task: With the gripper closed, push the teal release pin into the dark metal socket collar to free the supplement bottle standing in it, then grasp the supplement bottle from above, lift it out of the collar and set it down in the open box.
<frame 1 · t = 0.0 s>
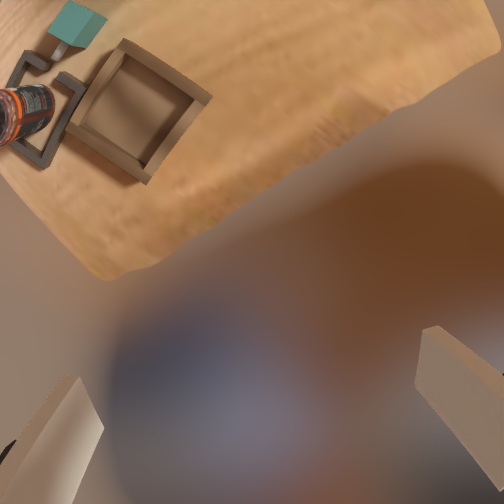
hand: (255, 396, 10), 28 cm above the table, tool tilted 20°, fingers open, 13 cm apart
socket collar: (37, 107, 26), on the table
release pin: (70, 34, 21), point 2 cm above the table, slide at 0.0 cm
open box: (139, 109, 29), on the table
supplement bottle: (38, 107, 27), resting in socket collar
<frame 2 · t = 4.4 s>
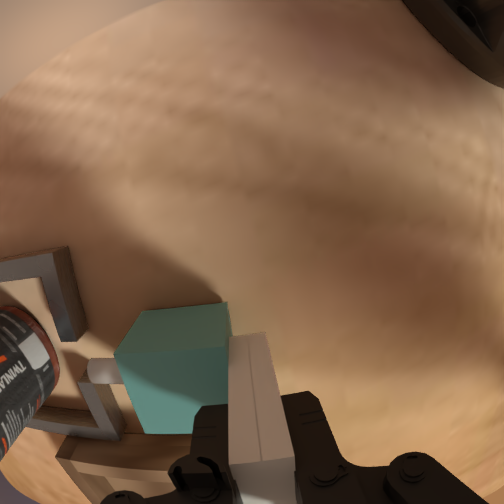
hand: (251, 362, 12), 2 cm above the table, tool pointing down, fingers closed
socket collar: (24, 348, 14), on the table
release pin: (158, 369, 12), point 2 cm above the table, slide at 0.2 cm, touching gripper
open box: (171, 484, 17), on the table
supplement bottle: (26, 346, 14), resting in socket collar
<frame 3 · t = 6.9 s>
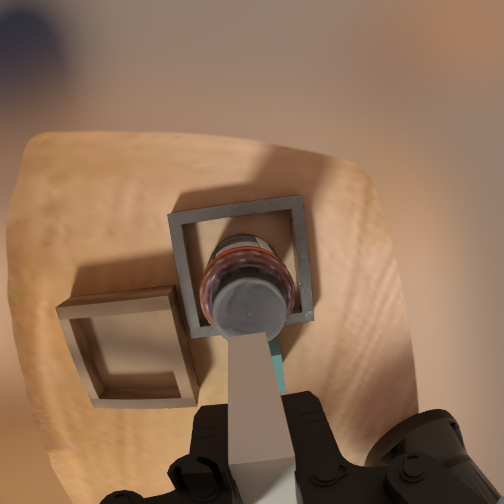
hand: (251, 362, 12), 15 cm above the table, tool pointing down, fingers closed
socket collar: (243, 266, 27), on the table
release pin: (256, 354, 26), point 2 cm above the table, slide at 2.2 cm
open box: (132, 346, 28), on the table
supplement bottle: (243, 265, 27), resting in socket collar
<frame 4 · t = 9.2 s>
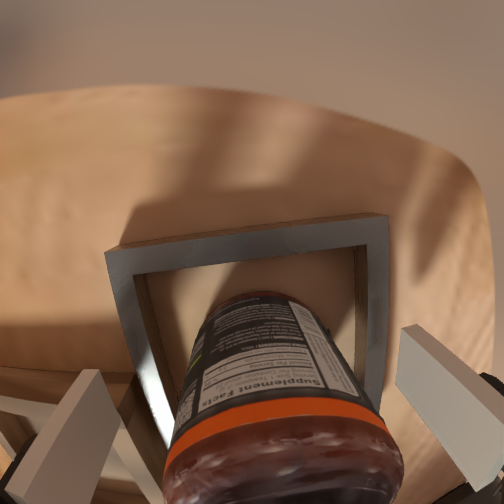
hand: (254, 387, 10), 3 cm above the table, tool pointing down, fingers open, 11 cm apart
socket collar: (261, 347, 14), on the table
open box: (85, 442, 15), on the table
supplement bottle: (260, 345, 14), resting in socket collar
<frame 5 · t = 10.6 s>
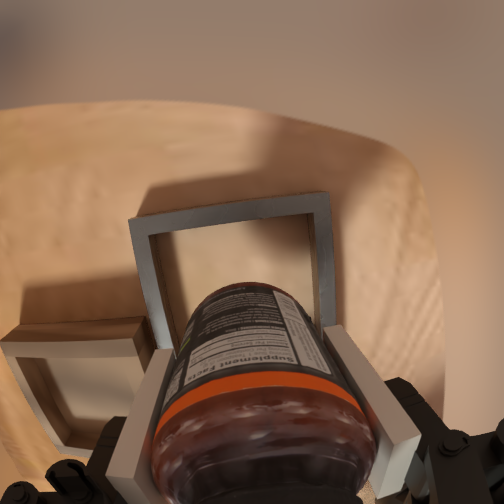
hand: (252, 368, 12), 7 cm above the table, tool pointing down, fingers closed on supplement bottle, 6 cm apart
socket collar: (240, 292, 19), on the table
open box: (98, 387, 20), on the table
supplement bottle: (248, 334, 15), point 4 cm above the table, touching gripper
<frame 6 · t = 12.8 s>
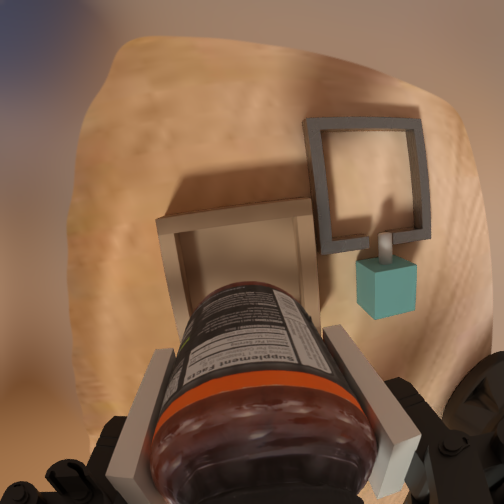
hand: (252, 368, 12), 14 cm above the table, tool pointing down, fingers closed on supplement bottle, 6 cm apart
socket collar: (369, 181, 25), on the table
release pin: (385, 271, 24), point 2 cm above the table, slide at 2.2 cm
open box: (242, 273, 26), on the table
supplement bottle: (248, 333, 15), point 12 cm above the table, touching gripper
when the fingers open (4 cm above the table, at t = 14.9 s): supplement bottle stays where it is, resting on open box.
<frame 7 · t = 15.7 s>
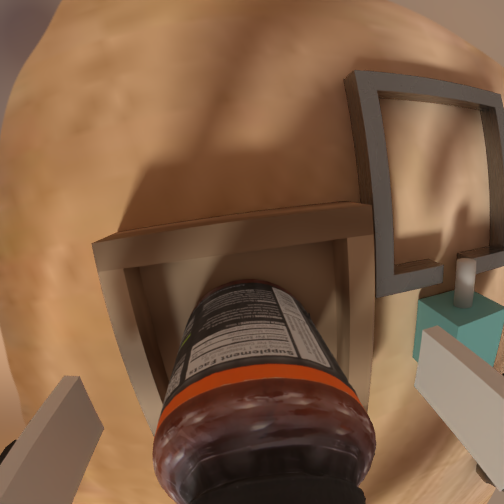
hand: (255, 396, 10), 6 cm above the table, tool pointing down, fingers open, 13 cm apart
socket collar: (441, 179, 15), on the table
release pin: (461, 316, 14), point 2 cm above the table, slide at 2.2 cm
open box: (245, 325, 16), on the table
supplement bottle: (248, 331, 15), point 1 cm above the table, touching open box
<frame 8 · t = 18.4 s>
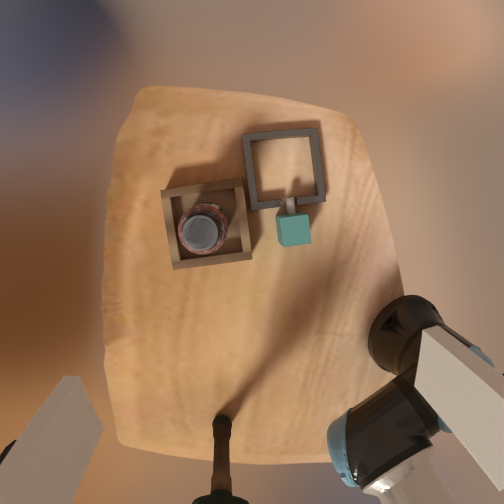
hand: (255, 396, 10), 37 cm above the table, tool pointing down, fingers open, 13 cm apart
socket collar: (283, 168, 44), on the table
release pin: (292, 220, 44), point 2 cm above the table, slide at 2.2 cm
open box: (207, 222, 45), on the table
supplement bottle: (208, 222, 44), point 1 cm above the table, touching open box
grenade: (222, 419, 53), on the table
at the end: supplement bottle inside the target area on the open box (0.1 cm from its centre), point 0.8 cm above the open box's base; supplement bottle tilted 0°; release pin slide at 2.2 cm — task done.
